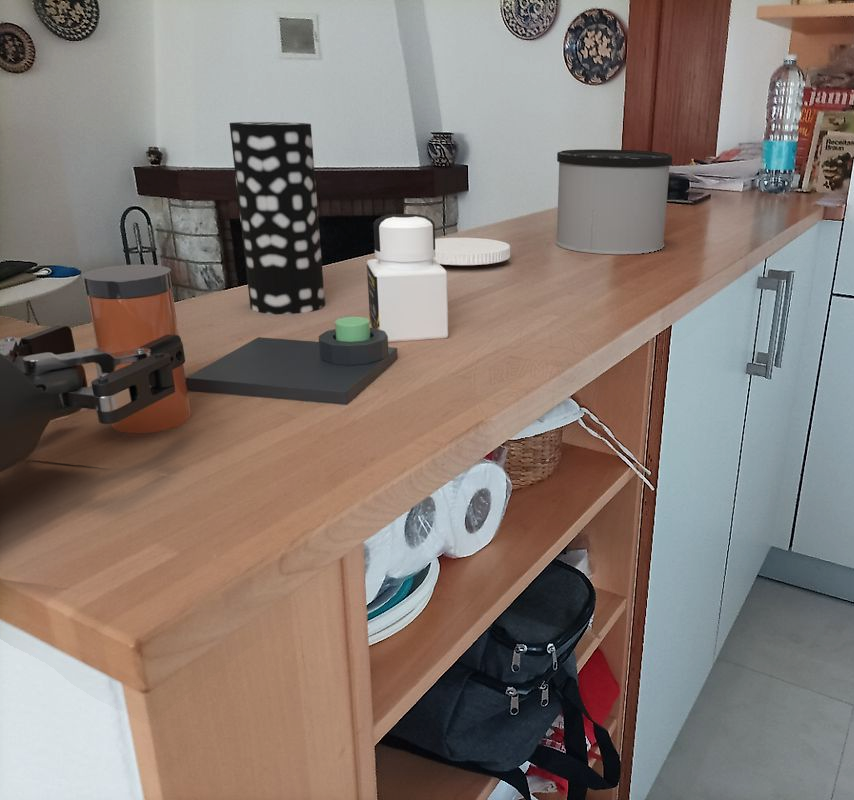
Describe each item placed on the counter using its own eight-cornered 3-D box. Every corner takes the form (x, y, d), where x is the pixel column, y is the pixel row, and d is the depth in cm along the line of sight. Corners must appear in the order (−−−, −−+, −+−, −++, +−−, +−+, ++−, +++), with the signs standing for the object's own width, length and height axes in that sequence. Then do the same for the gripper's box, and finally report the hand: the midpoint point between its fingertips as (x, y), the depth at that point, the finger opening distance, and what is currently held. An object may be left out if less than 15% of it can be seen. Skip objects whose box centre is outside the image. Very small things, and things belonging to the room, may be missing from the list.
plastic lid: (475, 276, 107) (475, 258, 107) (396, 264, 114) (395, 247, 113) (527, 260, 119) (527, 243, 118) (452, 250, 125) (451, 234, 124)
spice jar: (92, 431, 56) (62, 278, 52) (142, 403, 62) (117, 262, 58) (163, 438, 56) (137, 283, 52) (207, 409, 61) (187, 266, 57)
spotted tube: (338, 306, 91) (325, 124, 84) (273, 318, 85) (253, 125, 78) (301, 293, 96) (285, 122, 89) (237, 304, 91) (215, 122, 83)
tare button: (330, 343, 69) (329, 324, 68) (344, 333, 72) (343, 315, 71) (363, 345, 68) (361, 326, 68) (375, 336, 71) (374, 317, 70)
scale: (186, 391, 64) (181, 356, 63) (259, 348, 75) (256, 318, 74) (347, 405, 62) (344, 370, 61) (397, 359, 73) (396, 328, 72)
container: (669, 239, 140) (676, 151, 135) (660, 258, 123) (668, 158, 118) (566, 233, 144) (569, 147, 139) (544, 250, 127) (546, 154, 121)
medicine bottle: (369, 325, 84) (363, 211, 79) (435, 320, 86) (432, 210, 82) (378, 344, 78) (372, 222, 73) (449, 339, 80) (446, 220, 75)
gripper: (19, 376, 37) (208, 297, 52) (-228, 354, 40) (21, 284, 55) (50, 514, 40) (222, 401, 55) (-182, 485, 42) (44, 385, 57)
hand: (122, 343), depth 55 cm, fingers open, 8 cm apart
